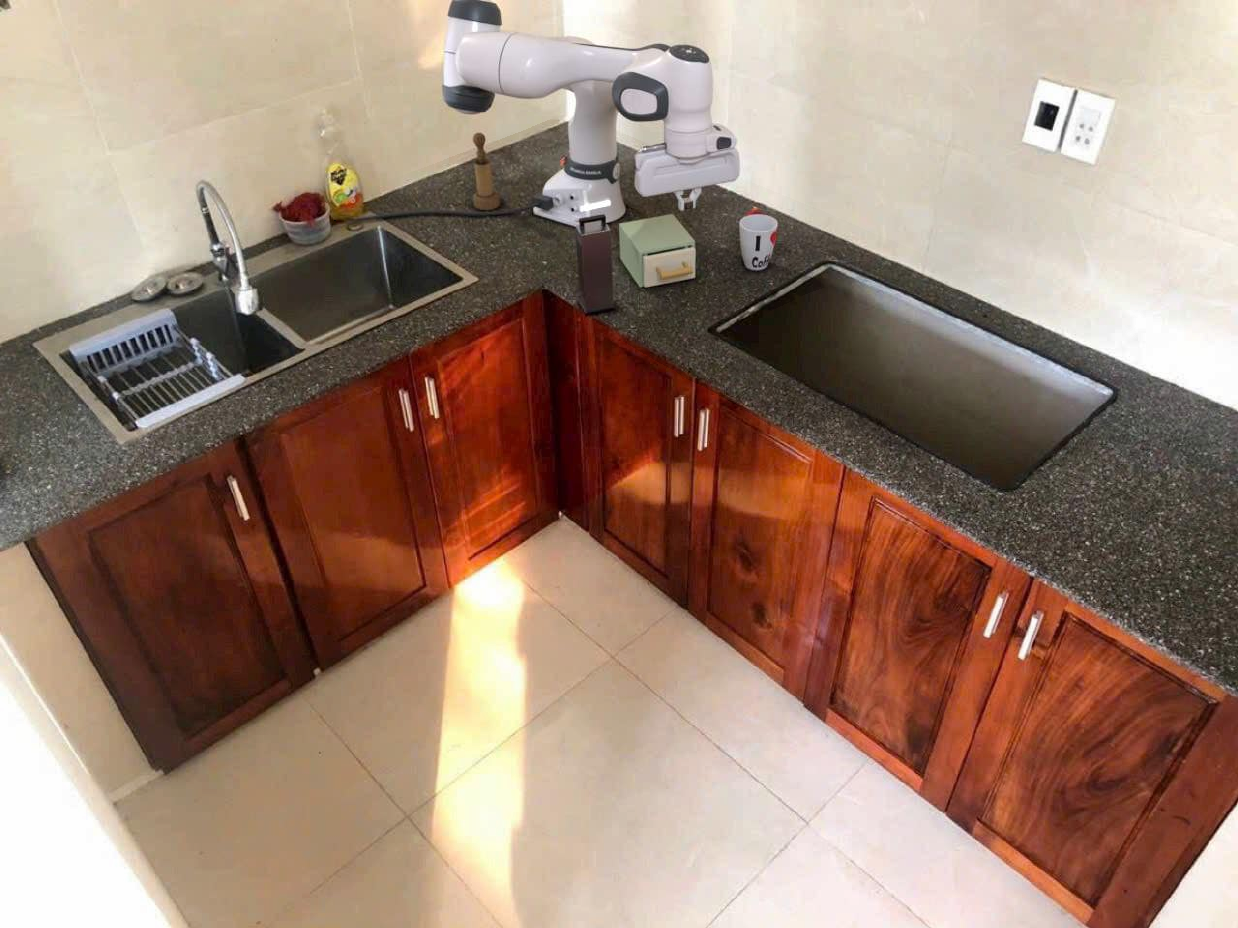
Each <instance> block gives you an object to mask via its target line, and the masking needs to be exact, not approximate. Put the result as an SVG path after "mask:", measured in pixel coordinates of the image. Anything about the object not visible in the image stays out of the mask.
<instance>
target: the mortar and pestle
mask: <svg viewBox="0 0 1238 928" xmlns="http://www.w3.org/2000/svg"><path fill="white" fill-rule="evenodd" d="M472 142H473V144H474V145H475V147H476V148H477V149H476V151H475V153H476V156H477V159H475V160H474V161H473V166H474V173H475V181H476V189H477V191H475V193H474V194H473V196H472V200H473V206H474V208H475V209H478V210H481V211H491V210H494V209H497V208H499V207H500V205H501V197H500V194H499V193H498V191H496V190H495V189H494V183H493V174H492V163H491V160H490V159H489V158H486V155H487V154H486V153H487V152H486V150H484V146H485V143H486V135H484V134H483V133H482V132H475V133H474V134H473V136H472Z"/></svg>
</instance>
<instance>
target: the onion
mask: <svg viewBox="0 0 1238 928" xmlns="http://www.w3.org/2000/svg"><path fill="white" fill-rule="evenodd" d="M756 214H759V215H766V214H765V213H764V212H763V211H761V210H760V209H759V208H758V207H757V206H755V205H753V206H752V209H751V210H750V211H748V212H747V213H745V215H744V217H746V216H749V215H756Z"/></svg>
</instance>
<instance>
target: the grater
mask: <svg viewBox="0 0 1238 928" xmlns="http://www.w3.org/2000/svg"><path fill="white" fill-rule="evenodd" d="M596 221H597V222H596ZM590 222H591V223H590ZM585 223H586V224H585ZM574 227H575V241H576V256H577V257H576V258H577V271H578V286H579V287H578V288H579V301H578V305H579V307H580V308H581V310H582V312H583V314H584V315H585V317H589V316H593V315H594V316H595V315H600V314H603V313H609V312H613V311H616V306H615V305H614V304H615V303H614V302H615V301H614V279H613V254H612V253H613V252H612V232H611V228H610V227H609V225H608V224H607V223H606V216H605V215H604V214H602V215H596V216H590V217H585V218H579V225H575V226H574Z"/></svg>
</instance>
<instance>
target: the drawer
mask: <svg viewBox="0 0 1238 928" xmlns="http://www.w3.org/2000/svg"><path fill="white" fill-rule="evenodd" d="M696 253H697V251H696V247H695V248H694V247H692V248H688V246H684V247H679V248H674V249H669V250H663V251H658V252H653V253H648V254H643V279H644V286H645V287H644V288H650V287H655V286H660V285H666V284H671V283H675V282H676V283H677V282H681V281H685V280H686V281H687V280H691V279H695V278H696V257H697V256H696V255H697V254H696Z"/></svg>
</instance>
